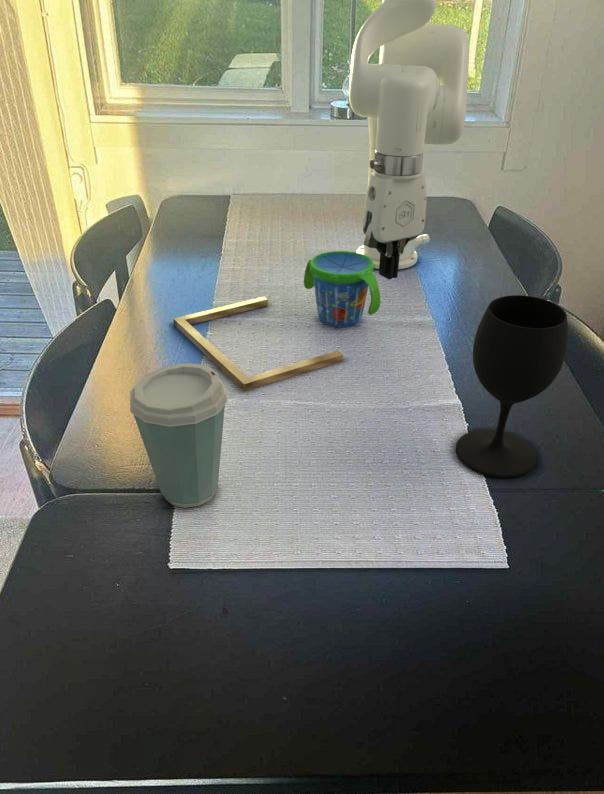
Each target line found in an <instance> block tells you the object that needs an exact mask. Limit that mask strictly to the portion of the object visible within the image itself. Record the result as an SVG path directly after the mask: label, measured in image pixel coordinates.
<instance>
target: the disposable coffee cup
mask: <svg viewBox="0 0 604 794" xmlns="http://www.w3.org/2000/svg"><path fill="white" fill-rule="evenodd" d="M129 392H130V393H129V394H130V395H129V396H130V397H129V406H130V407H129V408H130V413H132V415H133V417H134V420H135V423H136V426H137V429H138V431H139V434H140V437H141V440H142V442H143V446H144V449H145V451H146V454H147V457H148V459H149V463H150V465H151V468H152V471H153V474H154V476H155V477H154V478H155V480H156V482H157V485H158V488H159V491H160V494H161V495H162V496H163V497H164V499H165V500H166V501H167V502H168V503H169V504H170V505H172V506H176V507H180V508H184V509H185V508H186V509H187V508H193V507H200V506H202V505H203V504H205V503H208V502H209V501H211V500H212V498H213V497H214V495H216V493H217V489H218V488H219V479H220V468H221V467H220V466H221V455H222V444H223V443H222V442H223V431H224V430H223V429H224V419H225V410H226V409H225V408H226V405H227V403H228V402H229V400H228V396H227V392H226V389H225V385H224V382H222V380H221V379H220V375H219V374H218V372H217V371H216V370H214V369H213V368H211V367H209V366H207V365H206V364H201V363H190V362H189V363H187V362H182V363H178V364H172V365H167V366H162V367H160V368H158V369H157V370H154V371H151V372H149V373H147V374H144V376H143V377H142V378H141V379H140V380H139V381H138V382H137V383H136V384H135V385H134V386H133V388H132V389H131V390H130V391H129Z"/></svg>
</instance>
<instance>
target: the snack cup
mask: <svg viewBox="0 0 604 794" xmlns="http://www.w3.org/2000/svg"><path fill="white" fill-rule="evenodd" d="M374 269H375V268H374V262H373V261H372V259H370V258H369V257H368V256H366V255H363V254H360V253H356V251H347V250H345V251H344V250H334V251H326V252H322V253H319V254H316V255H315V256H313V257H312V258H310V259H309V260H308V261H307V264H306V267H305V270H304V276H303V286H304V288H305V289H307V290H311V289H313V288H314V295H315V302H316V310H317V315H318V316H317V317H318V319H319V321H320V322H322V323H323V324H325V325H327V326H332V327H335V328H340V327H341V328H343V327H351V326H355V325H357V324H358V323H359V322H360V320H362V318H363V313H364V309H365V304H366V299H367V296H368V291H369V294H370V303H369V305H368V309H367V314H368V315H369V316H372V315H374V314H376V313H377V312H378V311H379V309H380V308H381V293H380V287H379V283H378V280H377V278H376V275H375V274H374Z"/></svg>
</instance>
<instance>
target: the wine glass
mask: <svg viewBox="0 0 604 794" xmlns="http://www.w3.org/2000/svg"><path fill="white" fill-rule="evenodd" d="M568 326H569V325H568V315H567V312H566V311H565V309H563V307H561V306H560V305H558V304H556V303H554V302H553V301H550V300H548V299H544V298H541V297H536V296H531V295H521V294H513V295H504V296H501V297H497V298H494V299H493V300H491V301H490V302H489V304H488V306H487V308H486V309H485V311H484V313H483V315H482V317H481V319H480V322H479V324H478V326H477V330H476V333H475V336H474V341H473V346H472V363H473V364H472V365H473V368H474V373H475V375H476V377H477V379H478V381H479V382H480V384H481V385H482V387H483V388H484V389H485V390H486V391H487V393H488V394H490V395H491V397H493V398H494V399H496V400H497V401H499V405H500V406H499V415H498V421H497V426H496V429H489V428H486V429H485V428H484V429H476V430H472V431H469V432H467V433H465V434H463V435H461V437H459V439H458V440H457V442H456V443H455V449H454V450H455V455H456V457H457V459H458V460H459V462H460V463H461V464H462V465H463V466H465V467H466V468H467V469H469V470H471V471H472V472H475V473H476V474H478V475H482V476H486V477H489V478H494V479H513V478H518V477H521V476H524V475H526V474H528V473H530V472H531V471H532V470H533V468H534V466H535V464H536V461H537V456H536V452H535V450H534V448H533V447H532V446H531V445H530V443H528V442H527V441H526V440H524V439H523V438H521V437H519V436H518V435H516V434H513V433H511V432H508V431H505V430H506V425H507V422H508V418H509V414H510V412H511V409H512V407H513V406H514V404H515V405H516V404H519V403H522V402H525V401H528V400H530V399H532V398H535V397H537V396H539V395H540V394H542V393H543V392H544V391H545V390H546V389H548V388H549V387H550V386H551V385H552V384H553V382H554V381H555V380H556V378H557V377H558V375H559V374H560V371H561V369H562V367H563V365H564V361H565V357H566V354H567V350H568V349H567V348H568V342H569V341H568V339H569V327H568Z"/></svg>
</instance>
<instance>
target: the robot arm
mask: <svg viewBox="0 0 604 794" xmlns="http://www.w3.org/2000/svg"><path fill="white" fill-rule="evenodd" d="M381 2H382V3H380V5H378V7H377V8H376V9H375V10H374V11H373V12H372V13H371V14H370V15H369V17H368V18H367V19H366V20H365V21H364V23H363V24H362V26H361V27H360V29H359V31H358V33H357V35H356V37H355V40H354V43H353V47H352V51H351V58H350V59H351V60H350V71H349V83H348V101H349V106H350V109H351V111H352V112H353V113H354V114H355V115H357V116H358V117H361V118H367V122H368V123H367V124H368V134H369V135H368V139H369V140H368V141H369V154H368V155H369V159H368V176H367V177H368V179H367V188H366V193H365V199H364V207H363V214H362V215H363V217H362V233H363V235H364V237H363V238H364V239H363V245H361V246H359V247H357V249H356V251H355V253H360V254H363V255H366V256H368V257H369V258H370V259H372V261H373V262H374V269H375V270H376V269H377V270H378V273H379V276H382V277H383V278H385V279H387V280H389V281H390V280H393V279H398V277H399V270H403V269H404V270H405V269H408V268H410V267H412V266H414V265H415V264H417V262H418V259H419V258H418V257H419V256H418V255H419V254H418V252H417V251H416V249H417V248H418V247H419V246H423V245H427V244H429V243H430V241H431V239H430V236H429V234H428V233H425V234H422V233H423V232H424V230H425V225H426V216H427V180H426V178H427V177H426V173H425V171H423V170H422V168H423V161H424V160H423V159H424V151H425V145H436V146H437V145H441V146H442V145H443V146H444V145H452V144H454V143H456V142H458V140H459V139H460V138H461V137H462V135H463V132H464V127H465V124H466V115H467V113H466V112H467V97H468V82H469V81H468V80H469V65H470V41H469V37H468V33H467V32H466V31H465V29H464V28H462V27H461V26H459V25H454V24H444V23H443V24H442V23H441V24H440V23H439V24H438V23H437V24H436V23H430V21H431V19H432V18H433V16H434V14H435V13H436V7H437V0H381ZM378 49H379V63H369V60H370V58H371V57H372V56H373V54H374V53H375V52H376V51H377V50H378Z"/></svg>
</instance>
